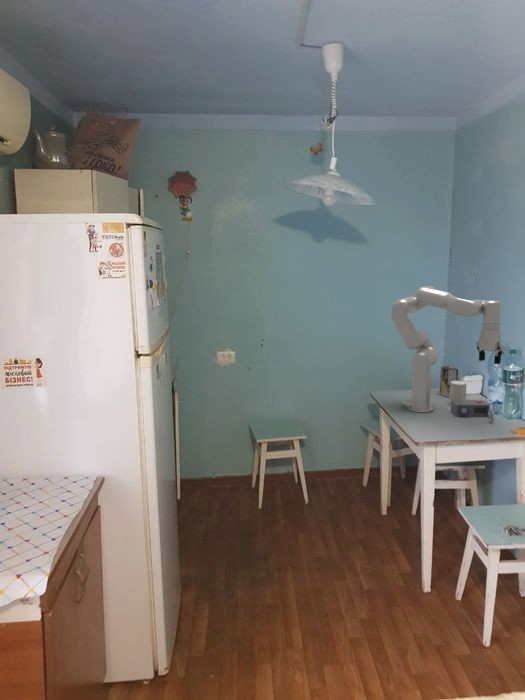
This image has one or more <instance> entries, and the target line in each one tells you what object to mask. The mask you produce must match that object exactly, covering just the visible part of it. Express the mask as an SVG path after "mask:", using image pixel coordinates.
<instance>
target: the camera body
mask: <svg viewBox="0 0 525 700" xmlns="http://www.w3.org/2000/svg"><path fill="white" fill-rule="evenodd" d="M450 412H451V413H452V414H453V415H454V416H455V417H484V416H487V417H490V404H488V402H486V401H485V400H483V399H466V400H451V405H450Z"/></svg>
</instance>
